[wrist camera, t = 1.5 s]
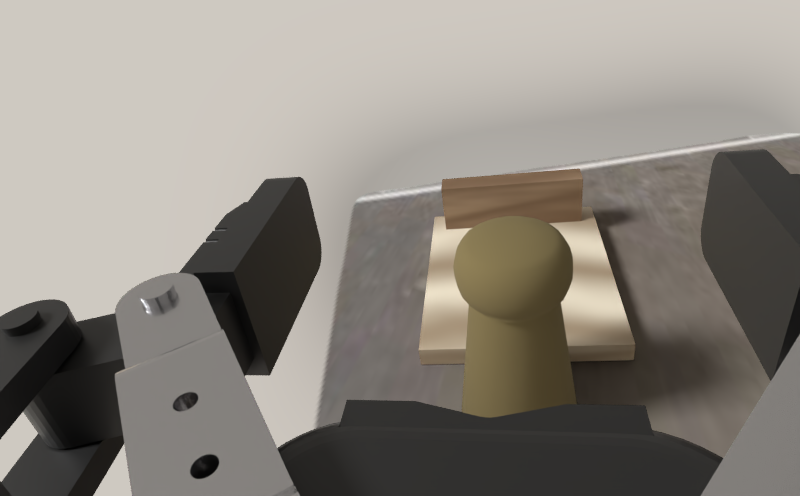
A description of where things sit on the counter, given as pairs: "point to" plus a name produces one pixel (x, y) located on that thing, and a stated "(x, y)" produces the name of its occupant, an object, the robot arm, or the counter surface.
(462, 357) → the wooden stand base
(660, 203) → the counter surface
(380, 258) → the counter surface
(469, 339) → the cork
